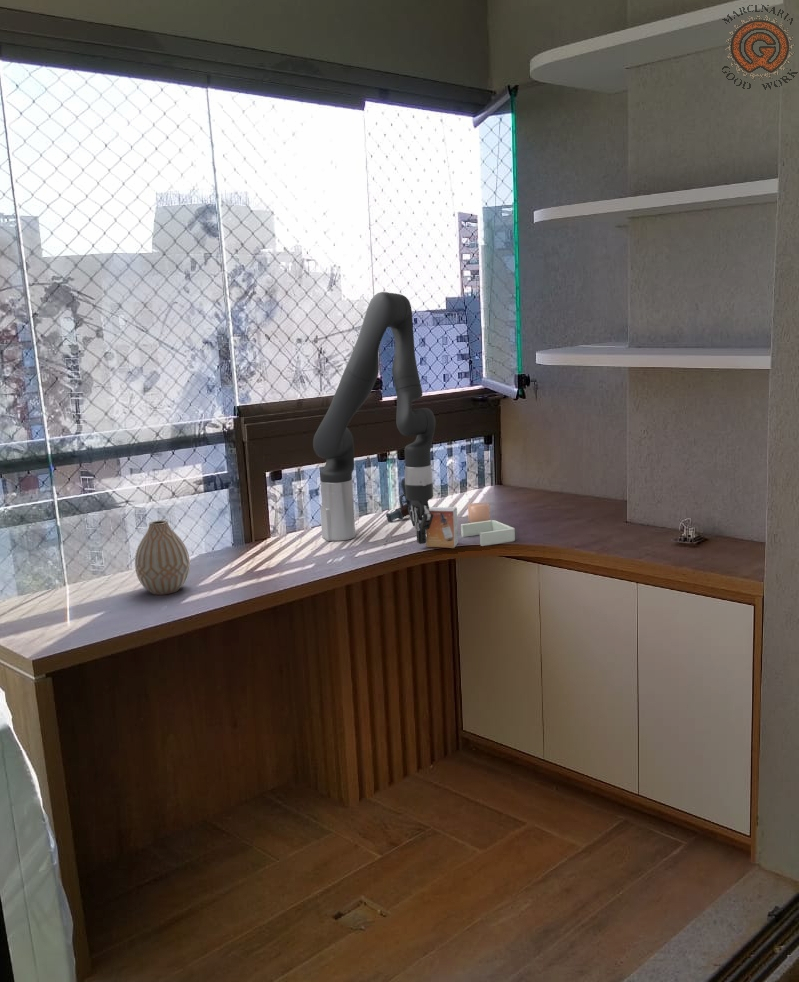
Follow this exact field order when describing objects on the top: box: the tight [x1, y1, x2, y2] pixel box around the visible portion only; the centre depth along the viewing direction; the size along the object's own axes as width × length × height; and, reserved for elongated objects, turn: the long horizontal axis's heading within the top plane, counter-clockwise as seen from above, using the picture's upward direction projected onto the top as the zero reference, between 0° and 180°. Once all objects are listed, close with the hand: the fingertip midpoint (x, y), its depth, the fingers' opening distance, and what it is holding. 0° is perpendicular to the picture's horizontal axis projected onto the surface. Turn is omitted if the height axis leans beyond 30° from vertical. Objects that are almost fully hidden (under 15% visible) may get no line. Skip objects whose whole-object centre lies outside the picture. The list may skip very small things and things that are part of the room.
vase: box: [134, 519, 191, 596], centre depth 233 cm, size 13×13×18 cm
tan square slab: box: [467, 502, 491, 523], centre depth 284 cm, size 6×6×7 cm
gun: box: [385, 466, 411, 523], centre depth 299 cm, size 3×17×15 cm
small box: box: [426, 506, 459, 549], centre depth 265 cm, size 8×6×10 cm
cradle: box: [460, 519, 516, 547], centre depth 271 cm, size 11×13×4 cm
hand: (421, 543), depth 263 cm, fingers closed
